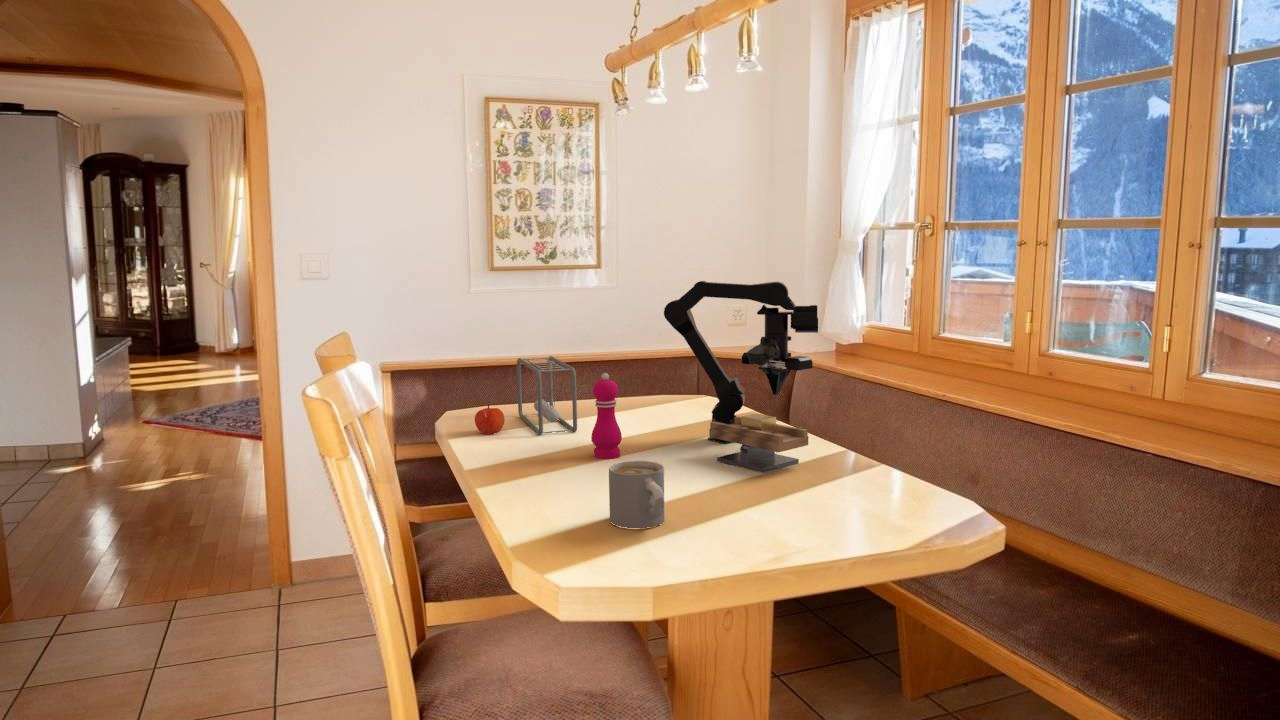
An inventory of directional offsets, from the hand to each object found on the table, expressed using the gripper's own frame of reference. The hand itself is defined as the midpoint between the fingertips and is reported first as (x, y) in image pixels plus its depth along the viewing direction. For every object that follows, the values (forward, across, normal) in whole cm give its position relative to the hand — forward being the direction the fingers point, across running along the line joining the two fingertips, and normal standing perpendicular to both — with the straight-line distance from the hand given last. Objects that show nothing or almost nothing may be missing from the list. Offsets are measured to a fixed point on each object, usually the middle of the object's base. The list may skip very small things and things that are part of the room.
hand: (775, 394), depth 217 cm
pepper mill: (+12, -18, -40) cm, 46 cm away
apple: (+12, -60, -47) cm, 77 cm away
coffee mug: (+12, +26, -67) cm, 73 cm away
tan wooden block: (+5, +11, -19) cm, 23 cm away
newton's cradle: (+12, -59, -29) cm, 67 cm away
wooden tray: (+7, +11, -19) cm, 23 cm away
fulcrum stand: (+12, +11, -19) cm, 25 cm away
